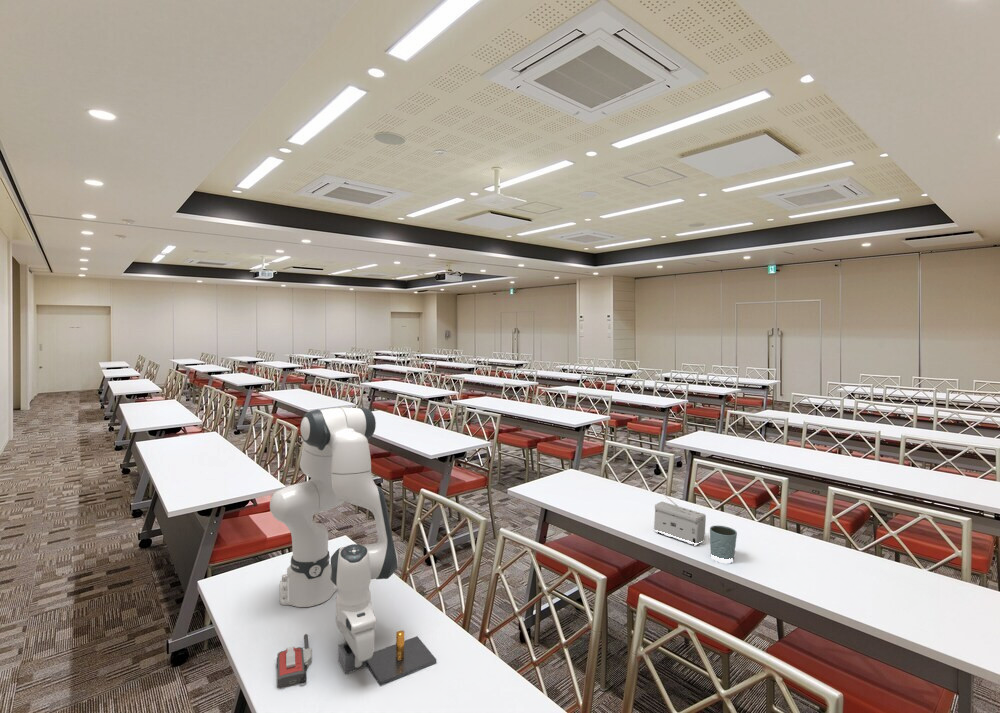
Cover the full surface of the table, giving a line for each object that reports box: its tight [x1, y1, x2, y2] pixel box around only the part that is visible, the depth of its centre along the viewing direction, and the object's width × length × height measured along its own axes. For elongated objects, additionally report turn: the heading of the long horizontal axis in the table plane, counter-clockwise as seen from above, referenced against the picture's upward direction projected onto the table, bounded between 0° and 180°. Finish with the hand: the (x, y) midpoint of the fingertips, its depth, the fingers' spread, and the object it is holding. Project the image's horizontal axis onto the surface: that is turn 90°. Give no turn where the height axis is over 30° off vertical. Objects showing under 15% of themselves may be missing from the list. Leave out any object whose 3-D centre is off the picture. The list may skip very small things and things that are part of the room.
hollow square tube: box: [337, 642, 368, 675], centre depth 135 cm, size 6×6×4 cm
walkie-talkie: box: [276, 633, 313, 689], centre depth 134 cm, size 9×4×20 cm
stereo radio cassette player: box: [653, 489, 707, 543], centre depth 221 cm, size 21×8×20 cm, turn 44°
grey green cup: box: [709, 525, 738, 559], centre depth 202 cm, size 10×10×12 cm
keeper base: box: [367, 630, 437, 687], centre depth 136 cm, size 12×16×8 cm
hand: (353, 657), depth 135 cm, fingers closed on hollow square tube, 6 cm apart
